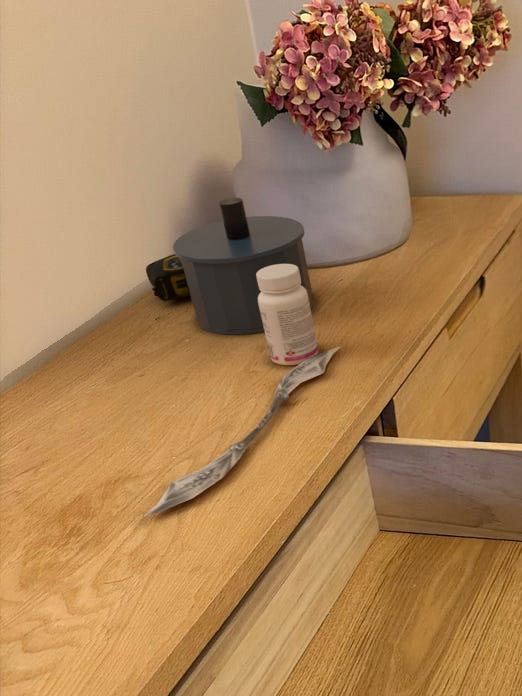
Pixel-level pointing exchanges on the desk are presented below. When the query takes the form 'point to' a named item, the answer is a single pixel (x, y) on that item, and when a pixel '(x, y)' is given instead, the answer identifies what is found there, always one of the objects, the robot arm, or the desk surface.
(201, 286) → the pot
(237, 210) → the pot lid
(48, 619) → the desk surface
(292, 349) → the pill bottle
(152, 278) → the tape measure
